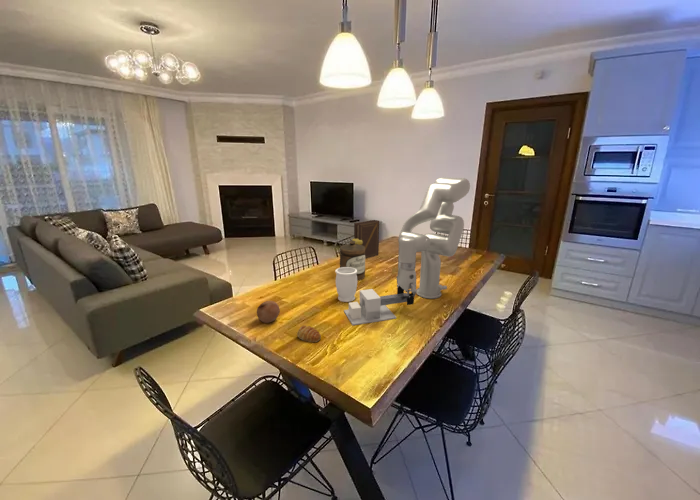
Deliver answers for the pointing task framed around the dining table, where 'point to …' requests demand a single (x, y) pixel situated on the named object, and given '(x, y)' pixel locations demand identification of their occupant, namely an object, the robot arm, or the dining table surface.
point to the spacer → (354, 310)
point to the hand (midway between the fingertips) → (405, 299)
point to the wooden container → (353, 258)
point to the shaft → (393, 299)
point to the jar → (346, 283)
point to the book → (367, 236)
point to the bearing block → (371, 309)
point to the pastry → (308, 334)
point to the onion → (268, 311)
